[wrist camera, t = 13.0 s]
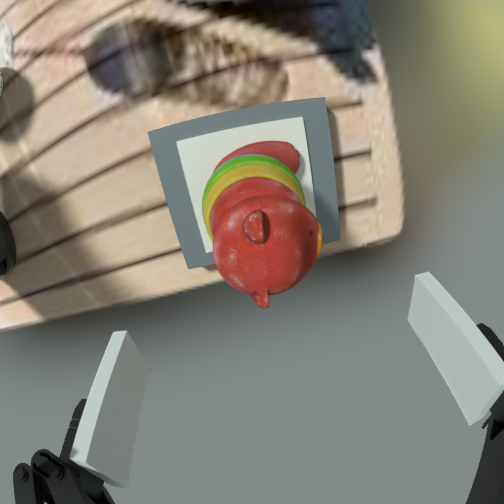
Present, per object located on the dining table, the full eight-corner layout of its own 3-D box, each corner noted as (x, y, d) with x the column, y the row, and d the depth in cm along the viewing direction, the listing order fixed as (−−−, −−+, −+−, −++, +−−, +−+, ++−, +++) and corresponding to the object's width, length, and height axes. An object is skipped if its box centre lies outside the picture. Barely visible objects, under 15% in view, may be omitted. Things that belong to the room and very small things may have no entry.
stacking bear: (294, 230, 35) (337, 333, 19) (209, 231, 34) (191, 338, 19) (300, 141, 30) (369, 180, 14) (207, 140, 29) (174, 176, 14)
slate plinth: (191, 257, 40) (187, 270, 37) (154, 130, 31) (146, 132, 28) (333, 230, 39) (341, 241, 36) (317, 98, 31) (325, 97, 28)
